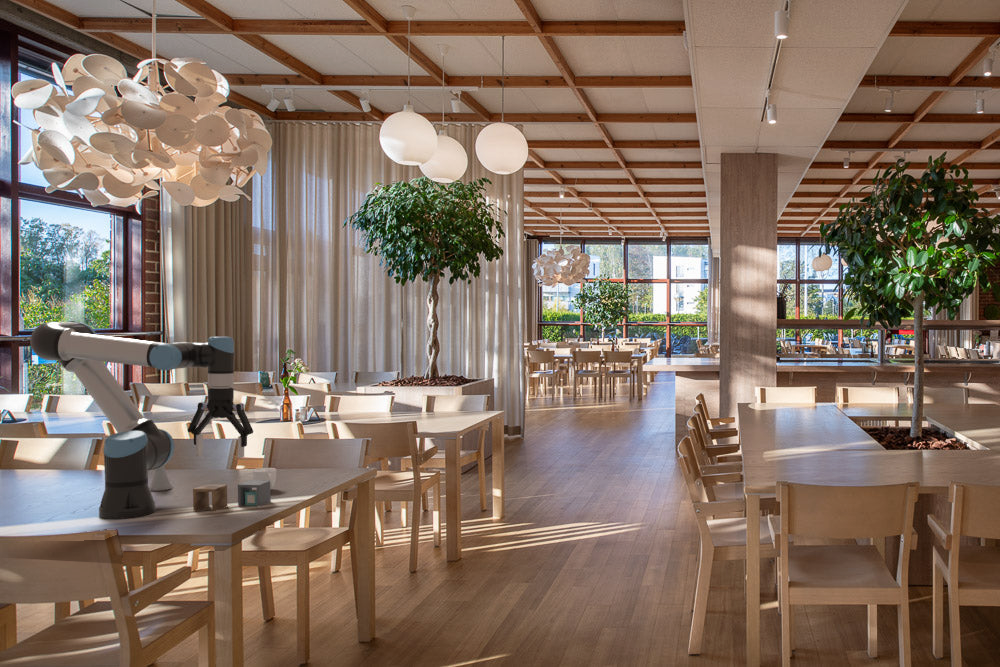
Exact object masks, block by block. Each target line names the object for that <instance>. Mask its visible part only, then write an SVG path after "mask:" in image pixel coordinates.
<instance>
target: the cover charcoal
mask: <svg viewBox="0 0 1000 667" xmlns="http://www.w3.org/2000/svg"><path fill="white" fill-rule="evenodd" d="M253 489H255V490H257V505H256V507H257V506H260V507H262V506H264V504H265V505H266V504H269V503H271V490H270V481H256V480H252V479H249V480H247V481H244V482H240V483H239V484H237V506H238V507H242V506H244V505H245V492H247V491H249V490H253Z"/></svg>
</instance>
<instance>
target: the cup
mask: <svg viewBox="0 0 1000 667" xmlns="http://www.w3.org/2000/svg"><path fill="white" fill-rule="evenodd" d="M251 478H252V479H251V480H256V481H270V491H272V489H273V487H274V485H275V484H276V479H277V468H275V467H259V468H254V469H252V470H251Z"/></svg>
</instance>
